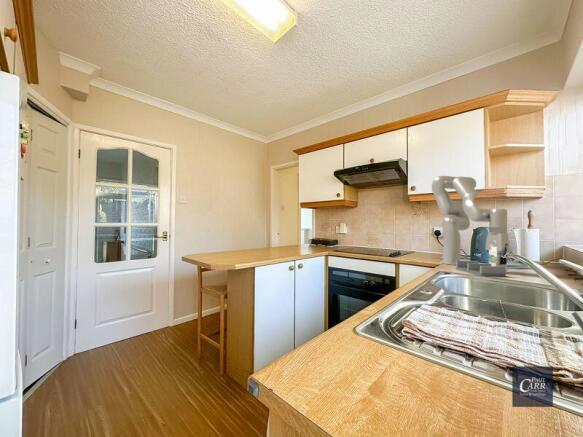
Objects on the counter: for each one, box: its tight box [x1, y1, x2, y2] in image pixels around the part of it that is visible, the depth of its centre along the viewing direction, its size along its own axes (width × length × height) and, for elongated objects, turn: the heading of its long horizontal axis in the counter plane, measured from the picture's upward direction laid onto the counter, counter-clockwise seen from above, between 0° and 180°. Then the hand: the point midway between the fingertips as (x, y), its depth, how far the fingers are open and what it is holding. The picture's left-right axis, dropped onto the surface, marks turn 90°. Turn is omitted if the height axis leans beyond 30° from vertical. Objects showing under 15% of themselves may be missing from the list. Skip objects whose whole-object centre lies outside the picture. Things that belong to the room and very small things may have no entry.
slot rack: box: [455, 260, 507, 277], centre depth 132 cm, size 17×13×5 cm
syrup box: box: [488, 247, 508, 274], centre depth 135 cm, size 6×6×14 cm
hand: (497, 263), depth 135 cm, fingers closed on syrup box, 5 cm apart
